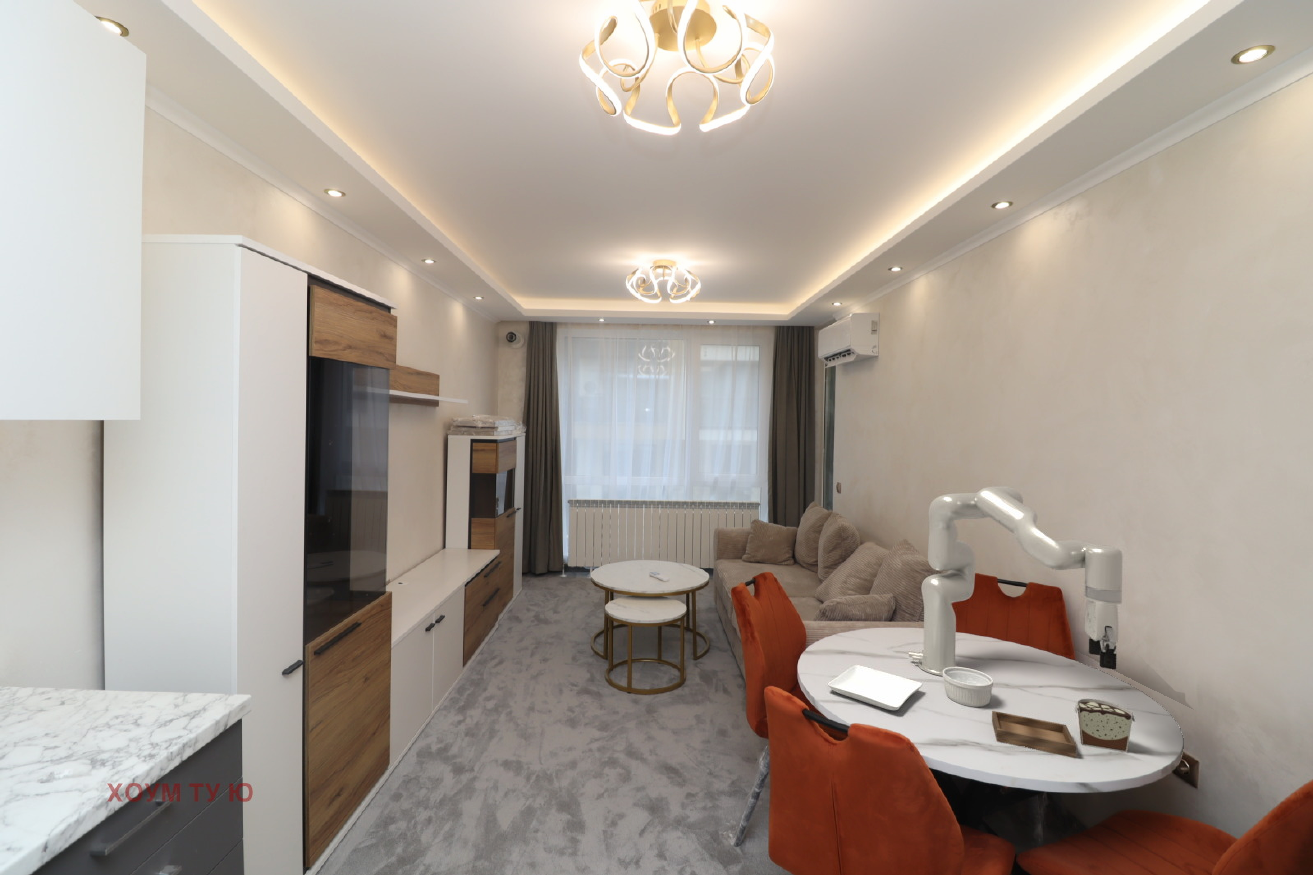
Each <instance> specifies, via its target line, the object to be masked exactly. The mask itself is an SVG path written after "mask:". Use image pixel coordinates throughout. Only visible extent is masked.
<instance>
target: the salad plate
mask: <svg viewBox="0 0 1313 875" xmlns="http://www.w3.org/2000/svg"><path fill="white" fill-rule="evenodd" d="M827 685H828V687H829V688H830V689H831V690H832V691H834V692H836V693H838V694H840V695H842V696H846V697H848V698H851V699H854V700H858V701H860V702H862V703H863V702H864V703H866V704H870V705H872V706H876V707H877V708H881V709H884V710H888V711H898V710H899V709H900V708H901V707H902V705H903V704H904V703H905V702H906V701H907V700H908V699H909V698H910V697H911V696H913V694H914V693H916V692H917V691H918V690H920V689H921V688H922V686H923V682H919V681H916V680H912V679H909V678H905V677H904V676H899V675H895V674H893V673H889V672H885V671H882V670H877V669H875V668H870V667H866V666H864V665H863V666H862V665H859V664H854V665H852V666H851V667H849V668H848V669H847V670H845V671H844V672H842V673H840V674H839V675H838V676H836V677H835V678H834V679H832V680H830V681H829V682H828V683H827Z"/></svg>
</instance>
